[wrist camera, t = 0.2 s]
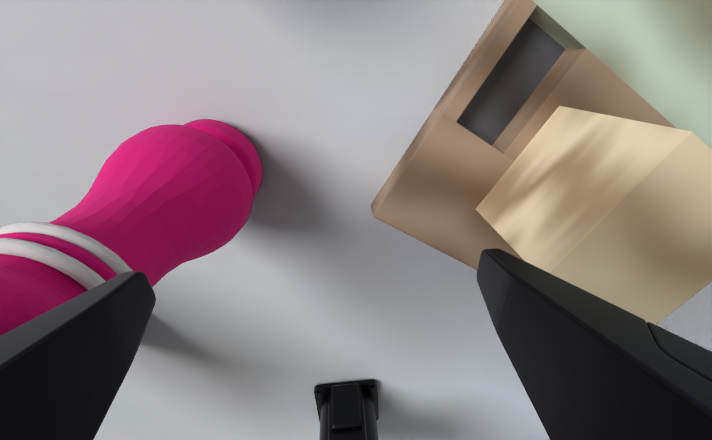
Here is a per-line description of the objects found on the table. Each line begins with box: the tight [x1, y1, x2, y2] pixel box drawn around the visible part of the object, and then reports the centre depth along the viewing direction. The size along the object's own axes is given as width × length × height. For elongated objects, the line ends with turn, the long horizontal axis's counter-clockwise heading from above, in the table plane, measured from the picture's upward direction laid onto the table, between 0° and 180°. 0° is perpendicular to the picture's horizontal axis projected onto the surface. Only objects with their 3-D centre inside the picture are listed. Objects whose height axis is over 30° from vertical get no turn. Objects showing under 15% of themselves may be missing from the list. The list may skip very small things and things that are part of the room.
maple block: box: [476, 106, 712, 325], centre depth 18 cm, size 8×8×8 cm
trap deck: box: [371, 0, 712, 270], centre depth 21 cm, size 24×20×2 cm
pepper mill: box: [0, 119, 263, 336], centre depth 13 cm, size 7×7×20 cm
